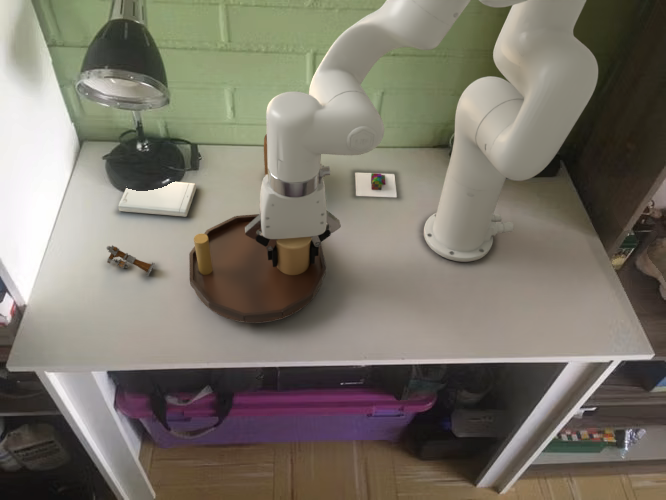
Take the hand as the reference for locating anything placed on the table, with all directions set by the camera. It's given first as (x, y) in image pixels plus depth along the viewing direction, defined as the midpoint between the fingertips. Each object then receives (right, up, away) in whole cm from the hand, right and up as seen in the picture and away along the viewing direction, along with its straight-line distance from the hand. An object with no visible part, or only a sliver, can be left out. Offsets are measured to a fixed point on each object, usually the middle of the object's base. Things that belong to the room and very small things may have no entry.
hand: (292, 258), depth 99 cm
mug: (-3, +14, +18) cm, 23 cm away
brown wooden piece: (-27, -2, +2) cm, 27 cm away
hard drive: (-26, +11, +13) cm, 31 cm away
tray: (-6, -2, +1) cm, 6 cm away
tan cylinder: (0, -1, +1) cm, 1 cm away
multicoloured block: (+15, +14, +20) cm, 29 cm away
